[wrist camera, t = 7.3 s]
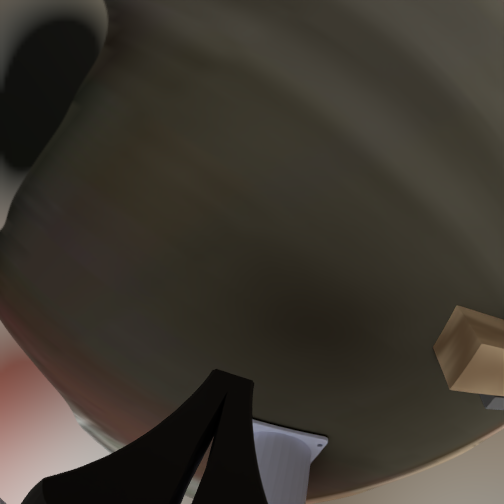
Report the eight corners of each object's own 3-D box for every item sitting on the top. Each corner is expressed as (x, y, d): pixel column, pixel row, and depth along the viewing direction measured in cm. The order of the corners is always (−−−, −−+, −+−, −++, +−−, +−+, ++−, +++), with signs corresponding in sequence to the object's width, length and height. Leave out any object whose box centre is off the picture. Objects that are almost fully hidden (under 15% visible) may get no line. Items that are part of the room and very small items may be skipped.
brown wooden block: (515, 363, 17) (535, 398, 13) (431, 345, 18) (449, 389, 14) (536, 329, 16) (562, 361, 11) (455, 303, 17) (481, 343, 12)
